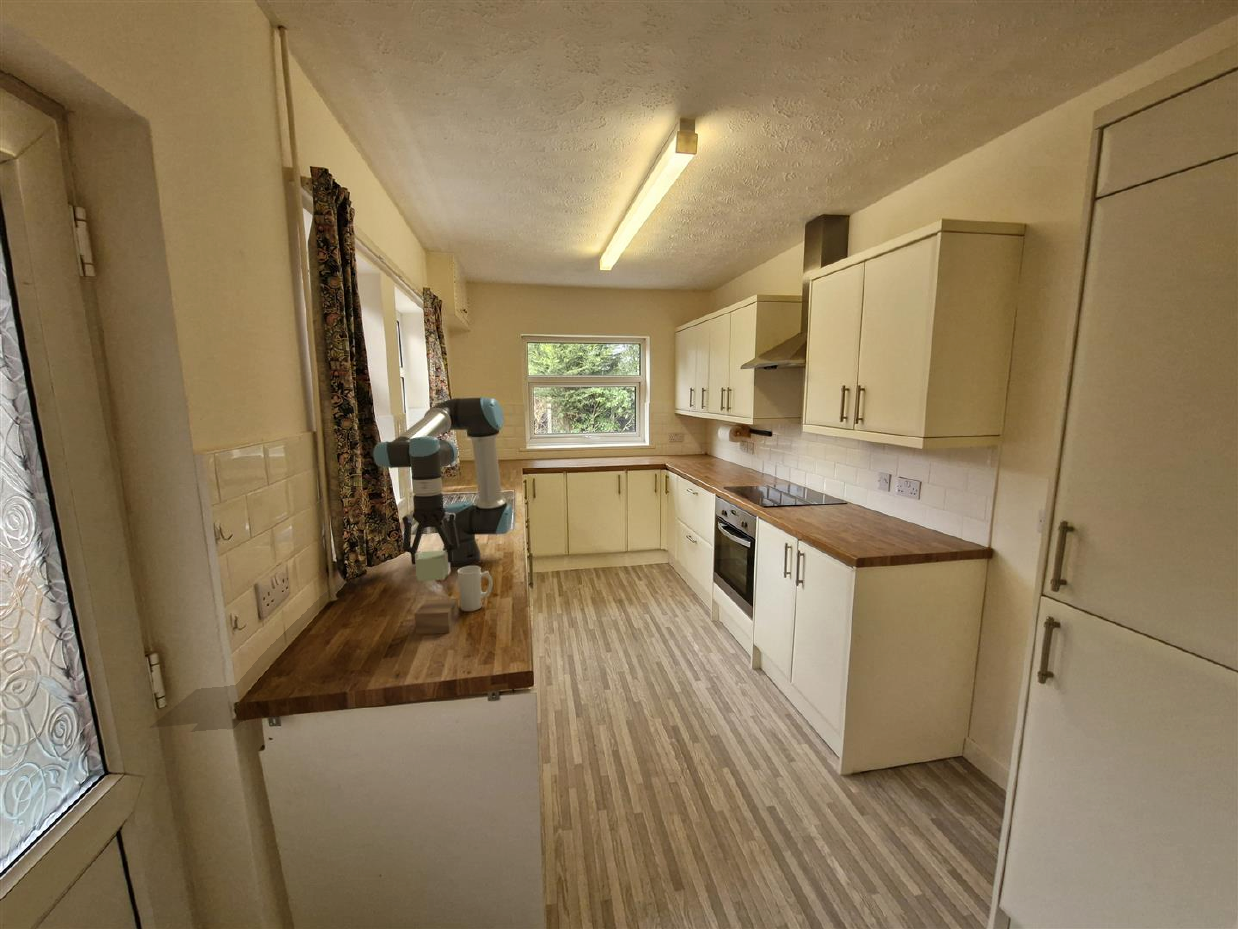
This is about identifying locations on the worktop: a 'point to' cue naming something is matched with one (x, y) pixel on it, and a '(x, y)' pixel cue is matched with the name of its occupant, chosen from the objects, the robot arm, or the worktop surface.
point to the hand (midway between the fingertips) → (433, 574)
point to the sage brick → (430, 566)
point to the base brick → (436, 616)
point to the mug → (472, 587)
